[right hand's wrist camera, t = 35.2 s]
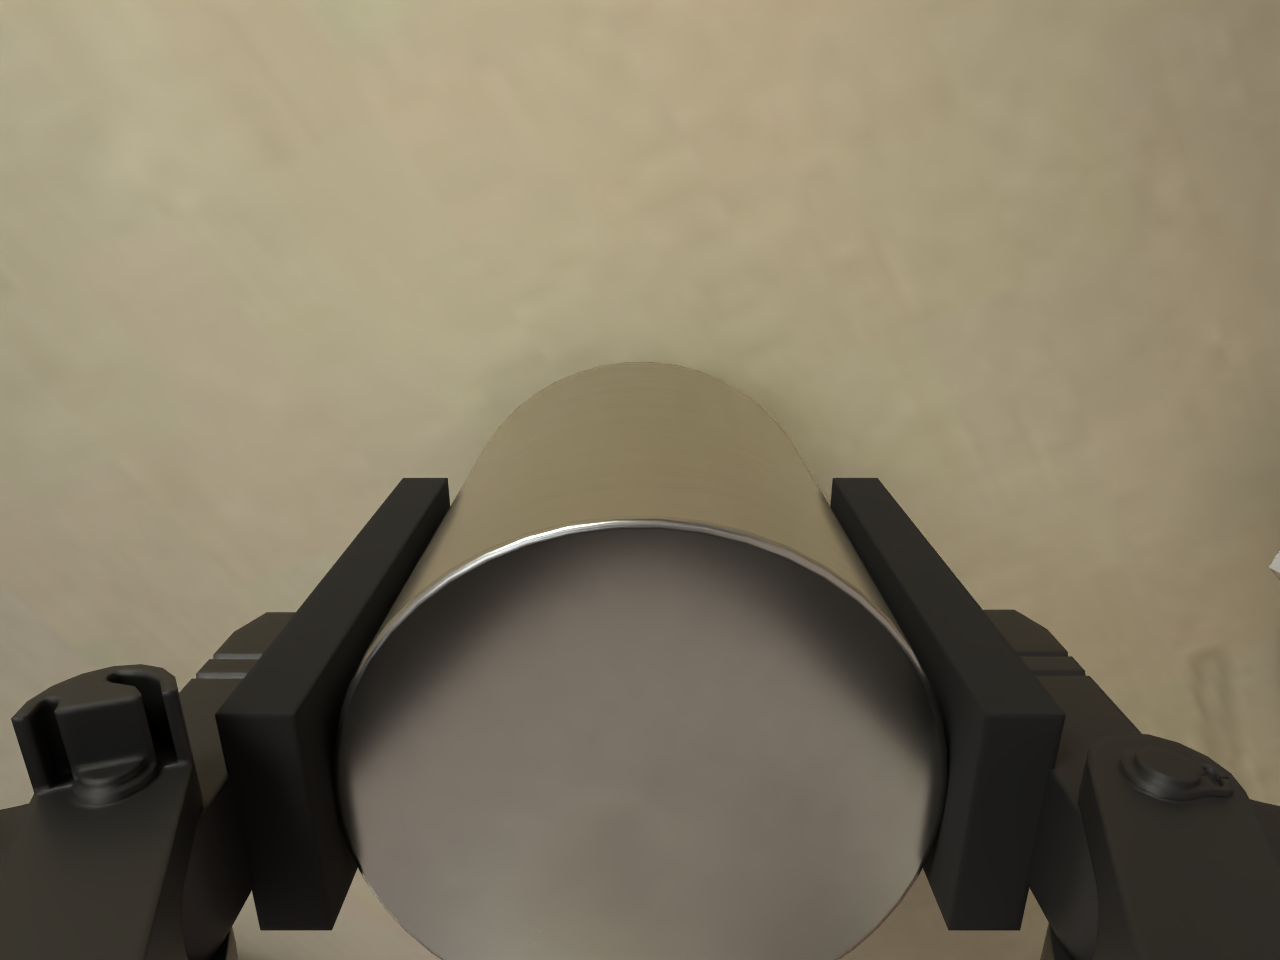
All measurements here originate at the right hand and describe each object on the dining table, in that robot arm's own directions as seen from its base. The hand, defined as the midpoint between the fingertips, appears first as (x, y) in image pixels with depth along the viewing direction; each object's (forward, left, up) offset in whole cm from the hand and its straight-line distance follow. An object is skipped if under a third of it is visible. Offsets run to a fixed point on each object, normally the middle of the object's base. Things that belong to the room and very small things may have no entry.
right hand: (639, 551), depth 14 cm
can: (0, 0, -1) cm, 1 cm away
